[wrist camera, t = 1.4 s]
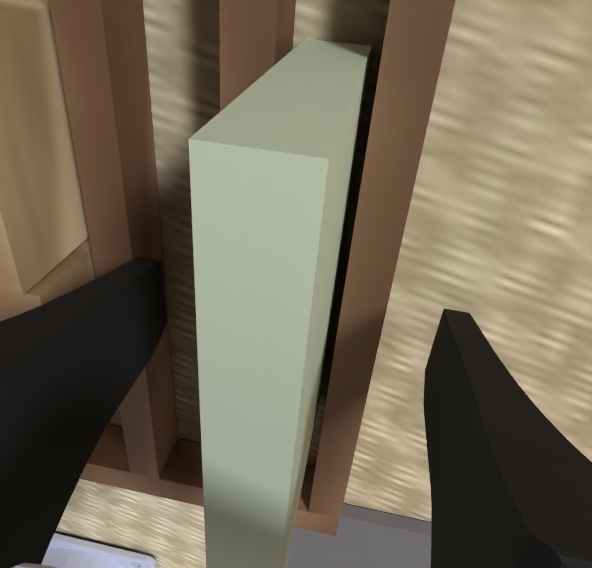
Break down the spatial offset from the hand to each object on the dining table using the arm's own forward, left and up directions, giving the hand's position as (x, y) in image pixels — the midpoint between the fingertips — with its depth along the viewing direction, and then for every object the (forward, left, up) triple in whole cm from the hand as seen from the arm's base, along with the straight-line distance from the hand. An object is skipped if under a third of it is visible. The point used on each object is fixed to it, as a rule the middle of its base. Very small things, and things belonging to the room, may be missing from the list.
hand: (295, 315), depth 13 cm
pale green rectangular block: (0, 0, -3) cm, 3 cm away
